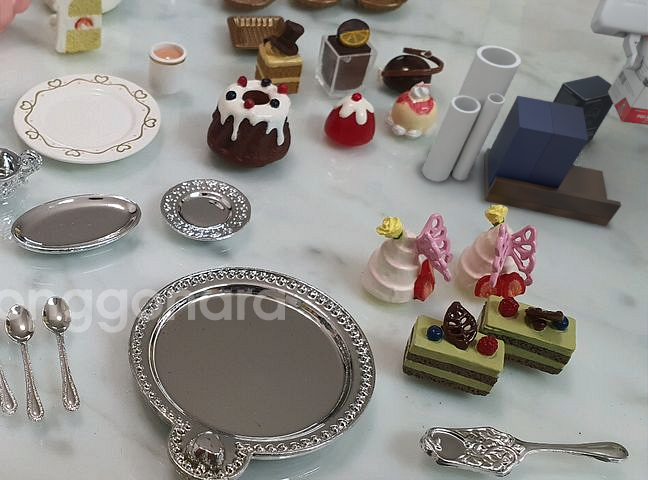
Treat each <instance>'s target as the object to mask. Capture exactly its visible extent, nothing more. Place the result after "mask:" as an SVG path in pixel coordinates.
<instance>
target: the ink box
mask: <svg viewBox="0 0 648 480" xmlns="http://www.w3.org/2000/svg"><path fill="white" fill-rule="evenodd" d="M635 45H636V49H637V53H638V55H640V56H644V57H643V60H642V61H641V66H640V68H639V69H637V70H629V69H625V64H626V62H625V63H624V64H623V66H622V68H621V69H620V71H619V73H618V75H617V76H616V78H615V79H614V81H613V83H612V84H611V85H612V86H611V88H610V89H609V91H608V93H609V95H610V97H611V99H612V102H613V107H614V108H615V110H616V112H617V115H618V117H619V119H620V121H621V122H622V123H627V124H628V123H629V124H637V125H644V126H648V35H645V36H642V37H641V39H640V41H639V42H638V43H636V44H635Z"/></svg>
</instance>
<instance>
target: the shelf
mask: <svg viewBox="0 0 648 480" xmlns="http://www.w3.org/2000/svg"><path fill="white" fill-rule="evenodd" d="M490 149H491V148H489V147H488V148H486V150H485V152H484V155H483V156H484V158H483V159H484V162H483V163H484V201H487V202H490V203H496V204H501V205H504V206H510V207H515V208H519V209H524V210H529V211H533V212H538V213H543V214H546V215H547V214H548V215H552V216H555V217H562V218H567V219H571V220H575V221H576V220H577V221H580V222H586V223H590V224H594V225H599V226H603V227H604V226H605V227H607V226H608V225H609V223H610V222H611V221H612V219H613V218H614V216H615V215H616V214H617V213H618V211H619V209H620V208H621V207H622V202H621V201H619V200H613V199H609V198H608V194H607V188H606V183H605V178H604V171H603V170H600V169H595V168H589V167H584V166H579V165H575V164H573V165H572V167H571V169H570V170H569V172H568V173H567V175H566V177H565V178H564V180H563V182H562V183H561V185H560V186H559V188H558V189H556V188H551V187H546V186H541V185H536V184H531V183H527V182H522V181H517V180H512V179H507V178H502V177H497V176H496V177H495V179H494V181H493V183H492V185H491V186H488V153H489V151H490Z"/></svg>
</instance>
